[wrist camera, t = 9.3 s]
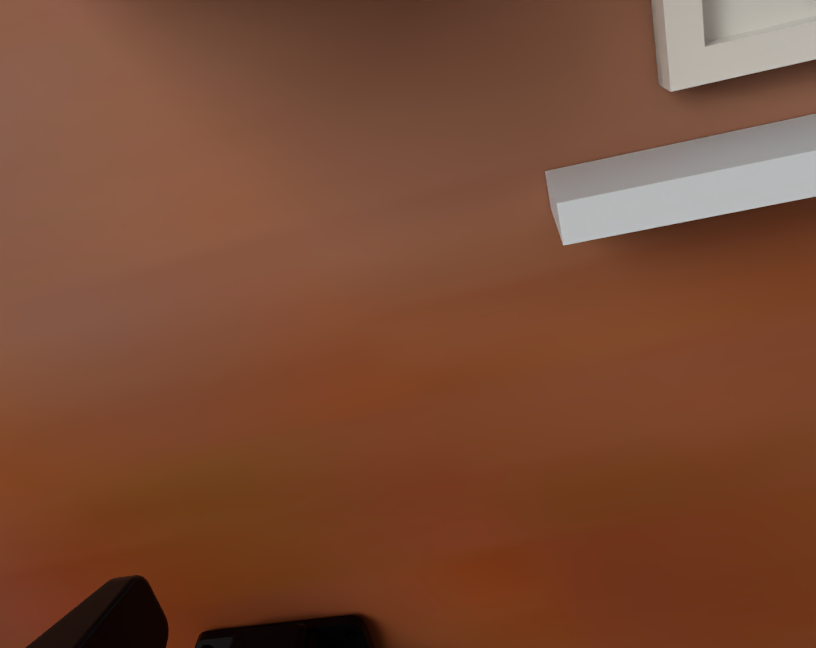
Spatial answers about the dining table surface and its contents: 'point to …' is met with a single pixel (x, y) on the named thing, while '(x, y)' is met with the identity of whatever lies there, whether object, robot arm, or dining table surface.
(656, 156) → the wall
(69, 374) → the dining table surface
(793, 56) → the coaster
